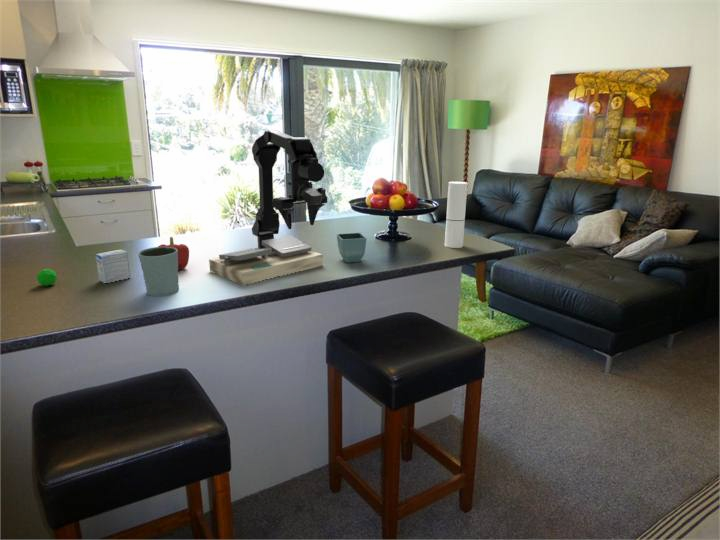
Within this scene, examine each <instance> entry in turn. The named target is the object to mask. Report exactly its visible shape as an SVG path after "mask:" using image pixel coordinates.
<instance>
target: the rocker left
mask: <svg viewBox="0 0 720 540" xmlns="http://www.w3.org/2000/svg"><path fill="white" fill-rule="evenodd" d="M268 254H272V249H255V248H249V249H247V248H246V249H242V250H238V251H232V252H228V253H224V254H223V253H222V254H219V255H218V257H219V258H220V259H223V260H224V257H226V256H227V257H229V260H238V261H239V260H244V259H249V258H254V257H258V256H263V255H268Z"/></svg>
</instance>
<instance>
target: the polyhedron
mask: <svg viewBox="0 0 720 540" xmlns="http://www.w3.org/2000/svg"><path fill="white" fill-rule="evenodd" d="M36 280H37V282H38V284H40V285H42V286H44V287H50V286H49V285H51V286H52V285H54V284H55V283H56V282H57V281H58V275H57V273H56V272H55V271H54V270H52V269H49V268H45V269H42V270H41V271H39V272H38V273H37V275H36Z"/></svg>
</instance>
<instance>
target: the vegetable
mask: <svg viewBox="0 0 720 540" xmlns="http://www.w3.org/2000/svg"><path fill="white" fill-rule="evenodd" d="M157 247H173V248H176V249H177V250H178V271H179V270H184V269H185V268H187V266H188V264H189V260H190V249H189V246H188V245H186V244H182V243H180V244H177V243H175V244H174V237H173V236H170V237H169V244H160V245H158V246H157Z"/></svg>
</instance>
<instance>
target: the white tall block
mask: <svg viewBox="0 0 720 540" xmlns="http://www.w3.org/2000/svg"><path fill="white" fill-rule="evenodd" d="M467 194H468V182H467V181H448V188H447V199H446V201H447V204H446V217H445V219H446V221H445V230H444V231H445V234H444V247H446V248H449V249H450V248H452V249H461V248H463V246H464V233H465V224H466V223H465V221H466V219H465V218H466V211H467V210H466V208H467V207H466V206H467V197H468V196H467Z"/></svg>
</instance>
